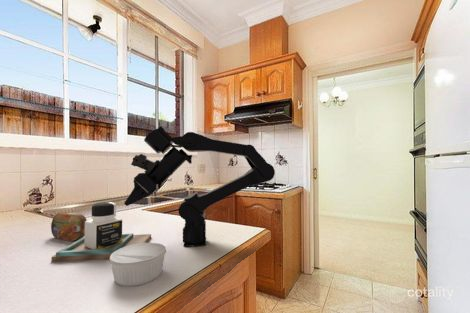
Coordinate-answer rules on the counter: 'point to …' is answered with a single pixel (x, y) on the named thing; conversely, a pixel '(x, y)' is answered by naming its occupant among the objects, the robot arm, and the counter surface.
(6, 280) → the counter surface
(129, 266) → the ramekin
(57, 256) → the socket board
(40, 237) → the counter surface
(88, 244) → the medicine bottle
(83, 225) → the tin
